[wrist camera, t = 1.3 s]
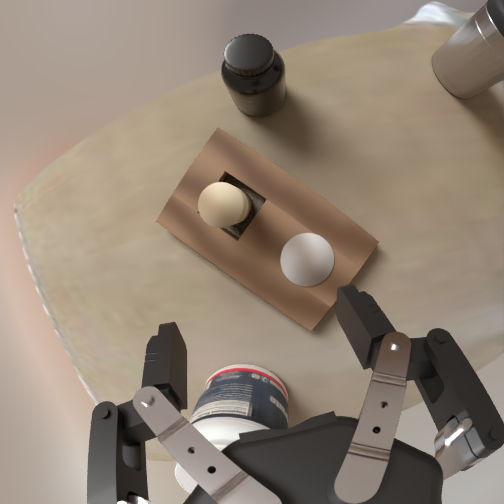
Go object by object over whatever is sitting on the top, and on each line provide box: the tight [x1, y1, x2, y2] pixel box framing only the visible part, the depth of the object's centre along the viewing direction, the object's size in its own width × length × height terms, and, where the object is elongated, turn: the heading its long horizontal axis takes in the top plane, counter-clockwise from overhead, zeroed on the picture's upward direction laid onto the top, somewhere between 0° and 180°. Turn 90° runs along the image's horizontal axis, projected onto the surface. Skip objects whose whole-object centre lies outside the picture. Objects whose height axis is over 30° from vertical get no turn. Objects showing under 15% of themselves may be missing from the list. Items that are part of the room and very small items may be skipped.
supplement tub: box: [175, 364, 288, 494], centre depth 31 cm, size 13×13×18 cm
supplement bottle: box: [221, 34, 285, 117], centre depth 28 cm, size 7×7×12 cm
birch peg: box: [198, 182, 252, 228], centre depth 31 cm, size 4×4×9 cm
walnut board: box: [156, 128, 379, 331], centre depth 35 cm, size 14×24×3 cm, turn 55°
